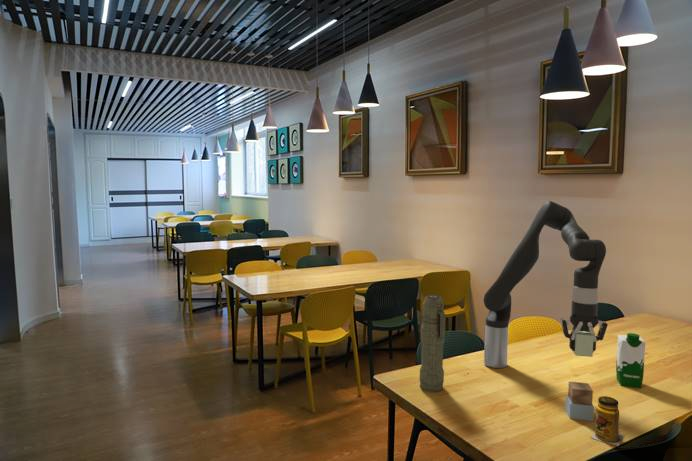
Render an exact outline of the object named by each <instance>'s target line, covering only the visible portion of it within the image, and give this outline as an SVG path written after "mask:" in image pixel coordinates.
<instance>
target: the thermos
mask: <svg viewBox="0 0 692 461" xmlns="http://www.w3.org/2000/svg"><path fill="white" fill-rule="evenodd" d="M444 307H445V306H444V300H443V297H441V296H440V295H437V294H428V295H425V297H424V299H423V303H422V307H421V314H420V320H421V322H420V343H421V364H420V365H421V366H420V367H419V388H420V389H421V390H422V391H424V392H428V393H439V392H442V391H443V390H444V381H445V380H444V378H445V371H444V368H443V364H444V363H443V362H444V360H443V359H444V345H445V340H446V338H445V337H446V333H445V332H446V317H447V316H446V312H445V311H444V309H445V308H444Z"/></svg>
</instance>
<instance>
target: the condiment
mask: <svg viewBox="0 0 692 461" xmlns="http://www.w3.org/2000/svg"><path fill="white" fill-rule="evenodd" d="M595 411H596V412H595V413H596V414H595V428H594V431H593V434H592V435H591V437H590V438H591V439H594V440H596V441H600V442H602V443H606V444H610V445H613V446H617V447H619V446H620V444H621V442H622V439H623V437H624V436H625V435H624V434H623V433H619V426H620V410H619V401H618V400H617V399H615V398H613V397H611V396H606V395H605V396H602V395H601V396H599V397H598V399H597V405H596V407H595Z"/></svg>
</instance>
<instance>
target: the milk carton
mask: <svg viewBox="0 0 692 461" xmlns="http://www.w3.org/2000/svg"><path fill="white" fill-rule="evenodd" d="M616 345H617V348H616V362H615V363H616V366H615V369H616V370H615V371H616V372H615V373H616V380H617V382H618V383H619V385H620V386H621V387H629V388H636V389H642V388H643V381H644V374H645V373H644V372H645V355H646V354H645V352H646V341H645V340H644V339H643V338H642V337H641V336H640V334H636V333H632V332H631V333H630V332H629V333H627V334H625V335H624V334H618V335H617V344H616Z"/></svg>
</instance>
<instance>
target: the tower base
mask: <svg viewBox="0 0 692 461" xmlns="http://www.w3.org/2000/svg"><path fill="white" fill-rule="evenodd" d="M564 402H565V407H564V409H565V411H566V413H567V416H568V418H569V419H572V420H580V421H589V422H594V416H595V415H594V414H595V413H594V412H595V410H594V409H595V406H594V404H593V403H592V406H591V405H582V404H573V403H571V401H570V399H569V397H568V394H565V401H564Z"/></svg>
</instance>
